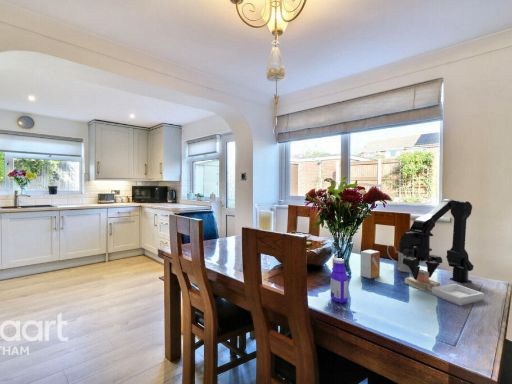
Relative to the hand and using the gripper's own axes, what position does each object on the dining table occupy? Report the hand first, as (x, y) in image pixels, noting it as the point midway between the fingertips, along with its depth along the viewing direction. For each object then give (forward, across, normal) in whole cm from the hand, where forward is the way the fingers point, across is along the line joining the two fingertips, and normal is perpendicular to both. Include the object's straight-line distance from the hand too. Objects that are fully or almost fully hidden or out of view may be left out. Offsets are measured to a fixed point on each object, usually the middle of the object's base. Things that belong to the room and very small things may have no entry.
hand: (422, 278), depth 130 cm
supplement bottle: (+4, +26, -30) cm, 40 cm away
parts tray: (+4, -2, +15) cm, 16 cm away
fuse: (+4, 0, 0) cm, 4 cm away
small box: (+4, +13, -20) cm, 24 cm away
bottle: (+4, +47, +1) cm, 47 cm away
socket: (+4, 0, 0) cm, 4 cm away
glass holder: (+4, -11, -23) cm, 26 cm away
